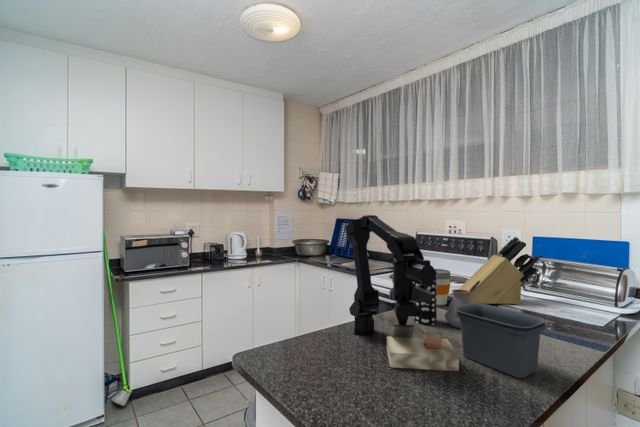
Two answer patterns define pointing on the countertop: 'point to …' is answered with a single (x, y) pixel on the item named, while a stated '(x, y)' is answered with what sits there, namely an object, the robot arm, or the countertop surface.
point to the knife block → (501, 276)
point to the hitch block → (421, 354)
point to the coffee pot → (458, 300)
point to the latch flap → (402, 331)
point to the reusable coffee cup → (442, 286)
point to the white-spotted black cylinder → (428, 306)
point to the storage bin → (501, 338)
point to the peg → (432, 341)
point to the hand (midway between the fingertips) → (403, 329)
